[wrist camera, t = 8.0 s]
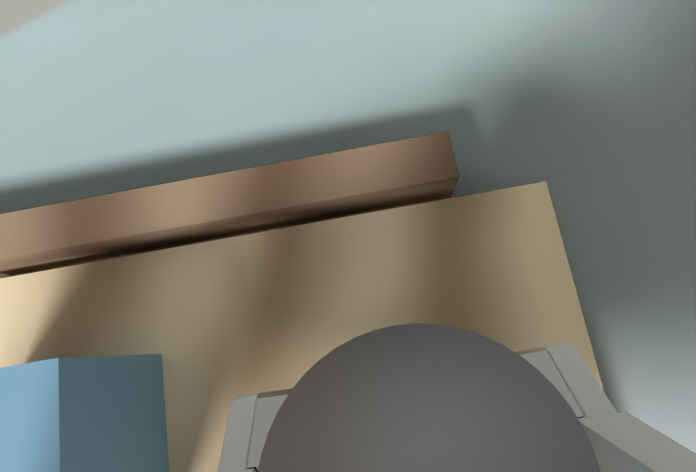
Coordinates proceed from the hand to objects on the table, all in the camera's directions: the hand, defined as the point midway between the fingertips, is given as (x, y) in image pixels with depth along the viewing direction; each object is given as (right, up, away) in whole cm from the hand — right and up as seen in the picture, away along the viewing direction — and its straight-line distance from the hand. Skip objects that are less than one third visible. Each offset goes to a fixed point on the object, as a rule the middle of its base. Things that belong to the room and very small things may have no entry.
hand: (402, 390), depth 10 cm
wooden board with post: (-3, -3, +6) cm, 8 cm away
